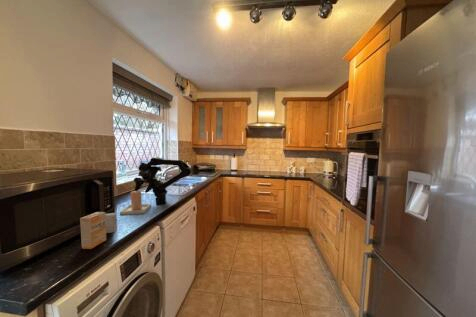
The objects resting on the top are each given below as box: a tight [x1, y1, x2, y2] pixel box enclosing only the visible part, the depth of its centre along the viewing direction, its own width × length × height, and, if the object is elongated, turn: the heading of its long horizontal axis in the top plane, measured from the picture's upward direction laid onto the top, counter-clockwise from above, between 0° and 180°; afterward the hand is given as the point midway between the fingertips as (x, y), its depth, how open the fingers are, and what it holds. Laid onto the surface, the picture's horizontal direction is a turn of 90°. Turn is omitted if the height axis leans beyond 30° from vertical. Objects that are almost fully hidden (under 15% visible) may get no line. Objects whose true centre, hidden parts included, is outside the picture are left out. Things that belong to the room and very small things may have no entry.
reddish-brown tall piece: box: [130, 190, 143, 211], centre depth 131 cm, size 6×6×12 cm
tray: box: [119, 203, 152, 216], centre depth 132 cm, size 15×15×2 cm
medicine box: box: [105, 212, 118, 234], centre depth 99 cm, size 8×4×9 cm, turn 108°
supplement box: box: [79, 211, 107, 250], centre depth 86 cm, size 8×5×13 cm, turn 172°
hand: (140, 192), depth 134 cm, fingers open, 9 cm apart
